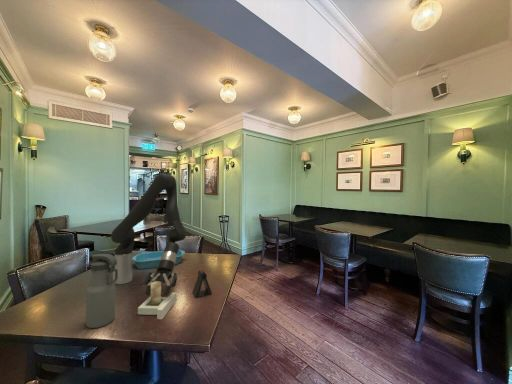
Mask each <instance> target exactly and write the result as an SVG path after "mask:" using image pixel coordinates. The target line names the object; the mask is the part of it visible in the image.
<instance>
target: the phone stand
mask: <svg viewBox="0 0 512 384" xmlns="http://www.w3.org/2000/svg"><path fill="white" fill-rule="evenodd" d="M207 277H208V276H207V273H206V272H205V271H204V270H203V269H201V270H198V272H197V278H196V281H195V283H194V286H193V289H192V295H193V296H194V298H195V299H198V298H203V297H207V296H211V295H213V292H212V289H211V287H210V284H209V282H208V279H207ZM202 284H203V286H204V290H201V289H202Z"/></svg>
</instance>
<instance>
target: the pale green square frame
mask: <svg viewBox="0 0 512 384" xmlns="http://www.w3.org/2000/svg"><path fill="white" fill-rule="evenodd" d="M168 297H169V296H161V304H160V305H159V306H151V296H149V297H148V298H147V299H146V300H145V301H144V302H143V303H141V304H140V305H139V306H138V307H137V315H148V316H149V315H151V316H153V315H155V316H157V310H158V309H159V307H160V306H161V305H162V304H163V303H164V302H165V301H166V299H167V298H168Z"/></svg>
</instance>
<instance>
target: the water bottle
mask: <svg viewBox="0 0 512 384" xmlns="http://www.w3.org/2000/svg"><path fill="white" fill-rule="evenodd" d="M91 259H92V263H91V264H90V272H91V283H90V284H91V285H89V286H88V287H87V289H86V293H85V297H86V298H85V299H86V300H85V303H86V305H85V306H86V307H85V317H86V318H85V325H86V327H87V328H89V329H97V328H102V327H105V326H107V325H109V324H110V323H112V322H113V321H114V319H115V317H116V284H115V283H114V282H115V281H116V280H117V278H118V270H117V269H115V265H117V260H116V258H115V255H114V254H110V253H96V254H92V255H91ZM114 271H115V279H114V280H113V279H112V280H111V278H112V274H113V272H114Z"/></svg>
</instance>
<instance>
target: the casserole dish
mask: <svg viewBox="0 0 512 384" xmlns="http://www.w3.org/2000/svg"><path fill="white" fill-rule="evenodd" d="M163 253H164V250H159V251H158V250H157V251H156V250H155V251H148V252H147V251H146V252H142V253H141V252H140V253H138V254H136V255H134V256H132V262H134V263H135V265H136V268H138V269H140V270H145V269H146V268H147V269H154V267H155V268H157V267H158V265H159V262H160V259H161V257H162V255H163ZM184 254H186V251H185V250H182V249H179V251H178V254H177V258H176V263H175V265H178V264H179V263H180V262H181V261H182V258H183V256H184Z"/></svg>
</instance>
